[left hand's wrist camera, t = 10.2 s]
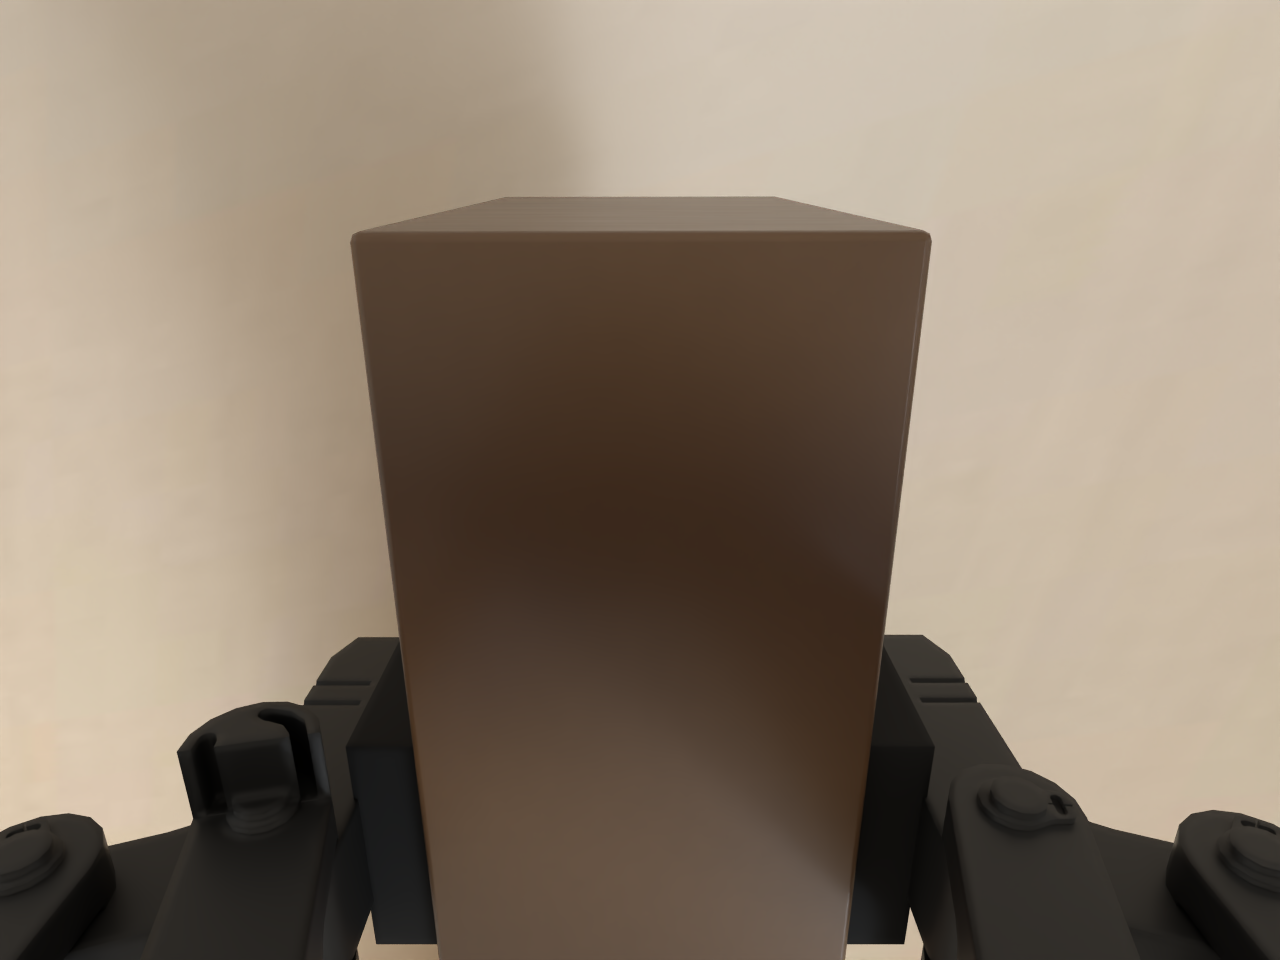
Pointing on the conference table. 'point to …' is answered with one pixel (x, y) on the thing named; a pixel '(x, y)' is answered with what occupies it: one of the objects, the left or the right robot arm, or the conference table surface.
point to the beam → (641, 560)
